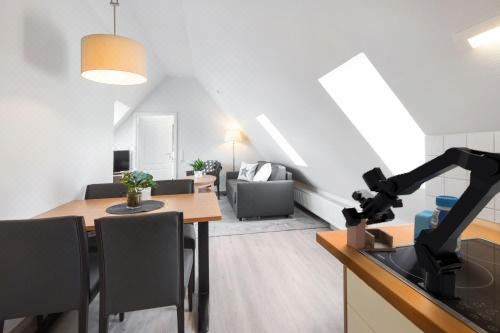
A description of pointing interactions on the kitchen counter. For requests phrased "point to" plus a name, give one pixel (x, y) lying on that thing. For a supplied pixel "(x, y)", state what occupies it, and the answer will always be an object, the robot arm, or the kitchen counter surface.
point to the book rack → (378, 240)
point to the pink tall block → (356, 235)
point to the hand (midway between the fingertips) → (356, 225)
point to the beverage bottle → (444, 213)
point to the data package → (422, 222)
